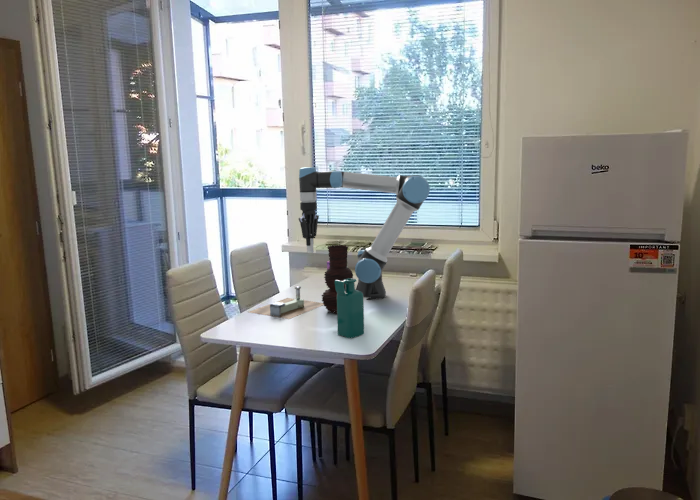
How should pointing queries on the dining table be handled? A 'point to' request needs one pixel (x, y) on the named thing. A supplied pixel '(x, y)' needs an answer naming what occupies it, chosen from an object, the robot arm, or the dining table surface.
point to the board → (289, 314)
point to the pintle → (297, 292)
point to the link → (292, 305)
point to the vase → (335, 275)
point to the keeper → (276, 309)
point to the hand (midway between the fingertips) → (310, 252)
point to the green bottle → (349, 309)
